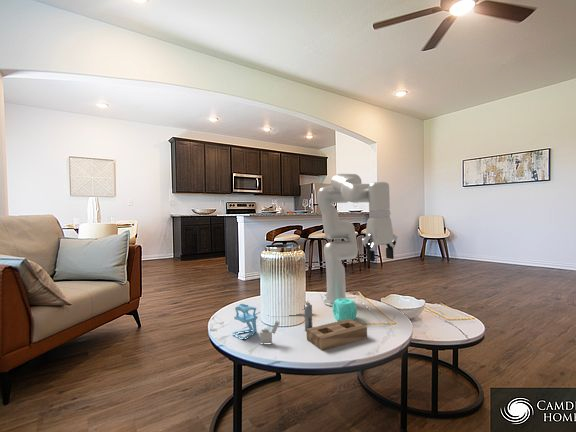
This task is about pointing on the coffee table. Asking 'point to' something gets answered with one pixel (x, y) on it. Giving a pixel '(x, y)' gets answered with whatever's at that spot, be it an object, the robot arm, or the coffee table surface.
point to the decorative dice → (344, 309)
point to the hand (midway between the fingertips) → (380, 259)
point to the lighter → (268, 334)
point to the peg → (308, 316)
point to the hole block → (336, 334)
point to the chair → (246, 319)
